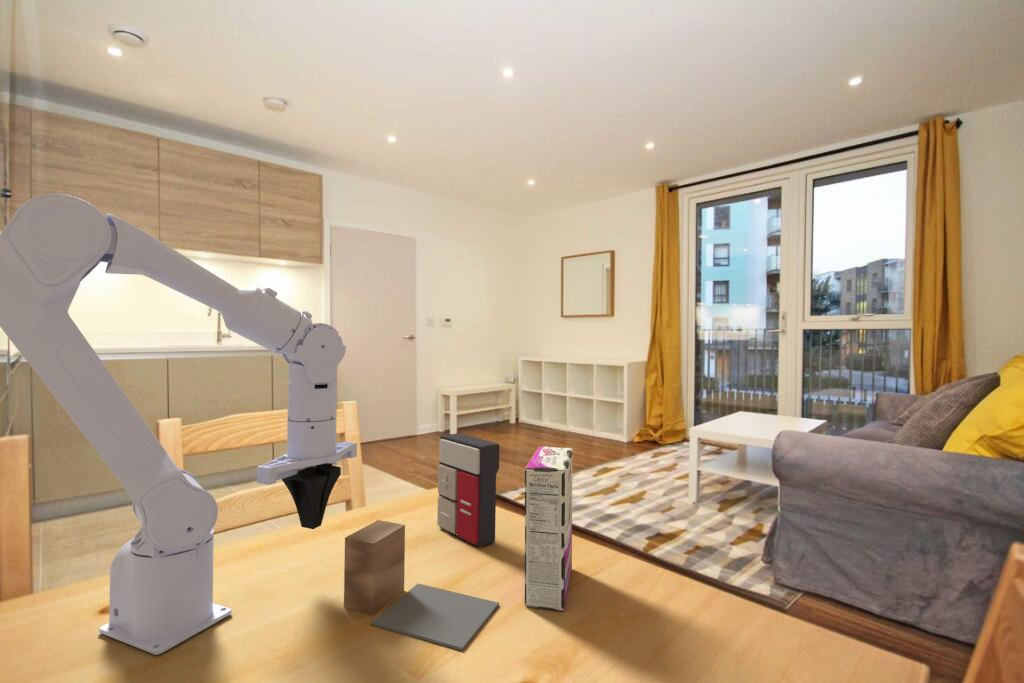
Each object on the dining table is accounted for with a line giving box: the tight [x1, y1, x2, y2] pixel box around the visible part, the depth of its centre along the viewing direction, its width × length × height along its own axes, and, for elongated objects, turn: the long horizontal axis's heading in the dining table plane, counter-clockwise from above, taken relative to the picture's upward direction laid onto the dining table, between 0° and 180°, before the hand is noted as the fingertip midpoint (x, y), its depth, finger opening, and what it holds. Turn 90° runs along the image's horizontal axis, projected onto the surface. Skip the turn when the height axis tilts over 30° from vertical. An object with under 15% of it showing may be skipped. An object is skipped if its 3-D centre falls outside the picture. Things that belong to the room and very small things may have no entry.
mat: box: [371, 583, 500, 652], centre depth 54 cm, size 11×9×1 cm
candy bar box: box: [524, 445, 574, 612], centre depth 61 cm, size 11×5×16 cm, turn 168°
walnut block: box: [343, 519, 406, 617], centre depth 57 cm, size 4×6×8 cm, turn 158°
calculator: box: [436, 433, 501, 548], centre depth 76 cm, size 11×4×15 cm, turn 43°
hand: (311, 526), depth 61 cm, fingers closed
